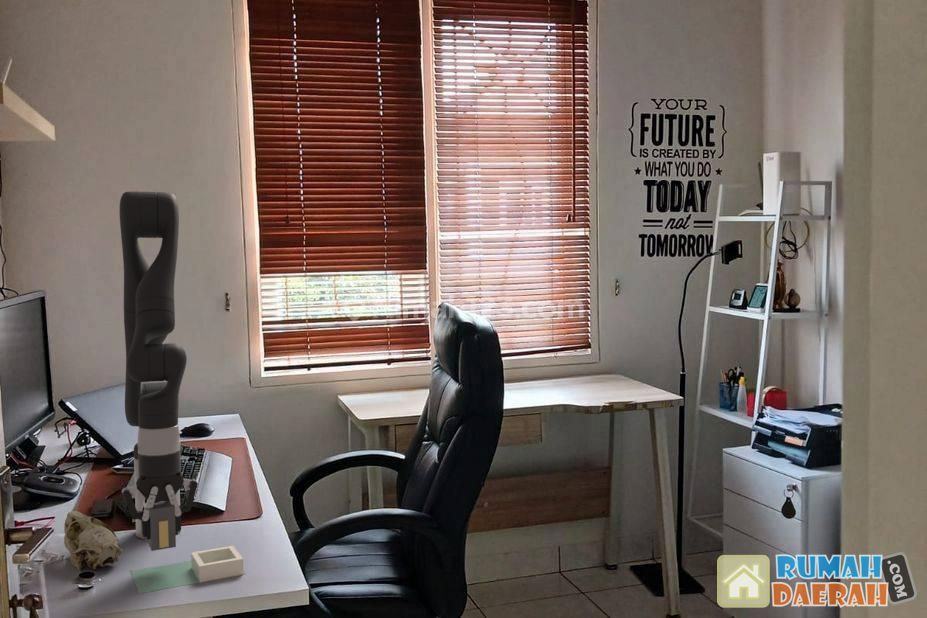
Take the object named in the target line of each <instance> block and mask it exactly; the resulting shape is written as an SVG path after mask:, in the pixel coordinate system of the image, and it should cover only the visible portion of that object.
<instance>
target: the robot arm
mask: <svg viewBox="0 0 927 618" xmlns="http://www.w3.org/2000/svg"><path fill="white" fill-rule="evenodd" d="M179 212H180V211H179V203H178V199H177V197H176V195H175V194H174V193H172V192H165V191H163V192H162V191H135V190H130V191H125V192H124V193H123V192H122V194H121V196H120V200H119V227H120V228H119V229H120V236H121V237H120V239H121V248H122V251H121V252H122V260H123V261H122V263H123V325H124V341H125V344H124V345H125V382H124V383H125V384H124V386H125V387H124V388H125V389H124V414H125V419H126V422H127V424H128V425H129V426H131V427H138V430H137V431H138V433H137V443H135V445H134V446H133V471H134V476H133V477H134V484H133V485H131V486H128V487H127V486H124V487H123V488H122V489H121V493H122V495H123V499H124V501H125V503H126V506H127V508H128V511H129V514H130V516H131V519H133V520H135V536H136V537H137V538H139V539H143V540H147V541H148V540H149V539H150V520H149V516H150V509H152V508H153V505H154V503H157V502H160V501H169V502H170V503H171V505H172V506H173V505H175V530H176V536H178V535H179V533H180V532H181V530H182V515H183V514H184V513H186V512H187V513H188V512H190V511H191V510H192V506H193V503H194V499H195V495H196V492H197V489H198V486H199V483H198V482H197V480H196V479H195V478H193V477H191V478H190V479H189V478H184V477H183V475H182V472H181V471H182V469H181V446H182V445H181V435H180V429H179V402H180V401H179V396H180V395H179V393H180V390H181V384H182V380H183V378H184V375H185V371H186V367H187V361H188V360H187V358H188V357H187V354H186V351H185V349H184V348H183V346H182V345H180V344H178V343H175V342H174V343H173V342H171V343H170V342H168V343H164V342H165V340H166V339H167V338H168V337H167V336H168V335H170V334H171V333H173V331H174V329H175V327H176V315H175V313H176V312H175V310H176V309H175V279H176V278H175V277H176V269H177V258H178V248H179V231H180V229H179V228H180V227H179V226H180V213H179ZM140 238H142V239H161V245H160V247H159V248H160V249H159V251H158V254H157V255H156V257H155V259H154V261H153V262H152V263H151V264H150V265H149V263H148V261H147V259H146V258H145V255H144V253H143V252H142V249H141V246H140V243H139V240H138V239H140ZM182 486H184V487H183V488H184V490H185V492H184V493H185V494H184V498H183V501H182V504H181V491H180V489H181V487H182ZM133 499H134V500H133ZM134 501H135V502H134Z"/></svg>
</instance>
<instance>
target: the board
mask: <svg viewBox="0 0 927 618" xmlns="http://www.w3.org/2000/svg"><path fill="white" fill-rule="evenodd" d="M130 573H131V576H132V578H133V581H134V584H135V586H136V589H137V591H138V594H139V595H140V594H145V593H151V592H156V591H161V590H167V589H172V588H179V587H182V586H183V587H185V586H189V585H194V584H200V583H201V582H199V580H198V578H197V577H196V575H195V573H194V571H193V570H192V567H191V560H187V561H181V562H175V563H170V564H163V565H158V566H152V567H147V568H140V569H135V570H131V571H130ZM246 574H247V573H246V572H245V571H244V569H243V574H242V575H241V576H244V575H246ZM238 576H239V575H237V576H236V577H238ZM232 577H234V576H232ZM232 577H231V578H232ZM227 578H229V577H226V578H225V579H227ZM221 579H223V578H221ZM221 579H220V580H221ZM215 580H218V579H215ZM215 580H214V581H215ZM211 581H212V580H210V581H209V582H211ZM205 582H207V581H204V582H203V583H205Z"/></svg>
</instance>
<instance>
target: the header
mask: <svg viewBox="0 0 927 618" xmlns="http://www.w3.org/2000/svg"><path fill="white" fill-rule="evenodd" d="M190 558H191V560H190V561H191V567H192V570H193V571H194V573H195V575H196V577H197V578H198V580H199V582H200V583H205V582H204V581H206V582H211V581H215V579H217V580H221V578H222V579H227V578H226V577H228V578H232V576H233V577H238V576H243V575H242V574H243V570H244V557H242V556H241V554H240V553H239V551H238V550H237V548H236V547H235V546H234V545H230V546H223V547H222V546H221V547H218V548H212V549H205V550H204V549H203V550H199V551H192V552H191V553H190ZM237 575H238V576H237ZM210 580H211V581H210Z"/></svg>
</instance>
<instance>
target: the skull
mask: <svg viewBox="0 0 927 618" xmlns="http://www.w3.org/2000/svg"><path fill="white" fill-rule="evenodd" d="M63 529H64V539H63V541H64V542H63V544H64V546H65V548H66V549H67V551H68V552H69V553H70V556H69V560H70V563H71V564H72V565H73V566H74V567H75V568H77V571H78V572H83V571H82V568H83V566H85V564H86V565H87V566H88V567H89V568H92V569H93V570H96V568H97V567H98V566H99V567H101V568H103V567H106V566H107V565H113V564H114V563H116V562H117V563H118V562H119V556H120V555H121V554H122V552H123V551H124V550H123V549H122V548H120V547H119V546H118V541H119V538H118V536H117V535H116V533H115V532H114V530H113V529H112V527H111V526H109V525H107V524H106V523H104V522H103V521H101V520H100V519H97V518H95V517H93V516H88V515H86V514H83V512H80V511H76V510H72V511H69V512H67V514H66V517H65V519H64V526H63Z"/></svg>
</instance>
